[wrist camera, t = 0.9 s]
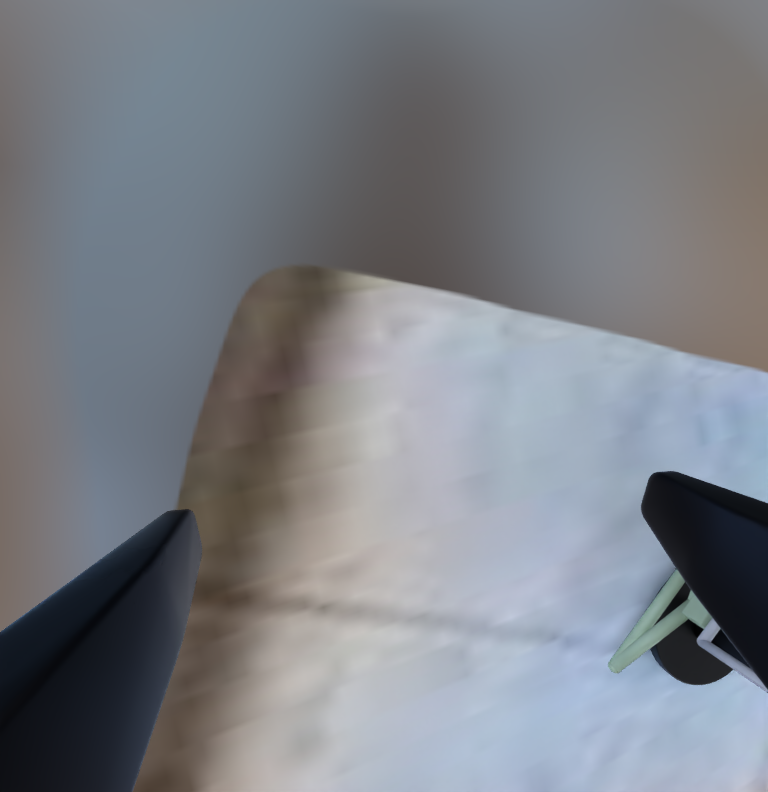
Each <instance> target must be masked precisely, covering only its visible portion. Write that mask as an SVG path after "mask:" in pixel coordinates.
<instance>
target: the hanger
mask: <svg viewBox="0 0 768 792" xmlns="http://www.w3.org/2000/svg"><path fill="white" fill-rule="evenodd" d="M684 583H685V581H684V579H683V578H682V576H681V575H680V573H679V572H678V570H677V569H676V570H675V571H674V573H673V574H672V576H671V577H670V578H669V580H668V581H667V582H666V584H665V585H664V587H663V588H662V589H661V591H660V592H659V593H658V595H657V596H656V598H655V599H654V600H653V602H652V603H651V604H650V606H649V607H648V609H647V610H646V611H645V613H644V614H643V616H642V617H641V618H640V620H639V621H638V622H637V624H636V625H635V627H634V628H633V629H632V631H631V632H630V633H629V635H628V636H627V638H626V639H625V640H624V642H623V643H622V644H621V646H620V647H619V649H618V650H617V651H616V653H615V654H614V655H613V657H612V658H611V660H610V661H609V663H608V667H609V669H610V670H611V671H612V672H613V673H620V672H621V671H622V670H623V669H625V668H626V667H627V666H629V665H630V664H631V663H632V662H634V661H635V660H636V659H638V658H639V657H640V656H641V655H643V654H644V653H645V652H647V651H648V650H649V649H650V648H652V647H653V646H654V645H656V644H657V643H658V642H659V641H661V640H662V639H663V638H665V637H666V636H667V635H668V634H670V633H671V632H672V631H674V630H675V629H676V628H677V627H679V626H680V625H681V624H682V623H684V622H685V621H686V620H688V619H689V620H691V621H692V622H694V623H695V624H697V625H698V626H700V627H701V628H703V629H704V630H703V631H702V633H701V634H700V636H699V637H698V638H697V643H698V645H699V646H700V647H702V648H703V649H705V650H706V651H708V652H709V653H711V654H712V655H713V656H715V657H716V658H718V659H719V660H721V661H722V662H724V663H725V664H727V665H728V666H729V667H731V668H732V669H734V670H735V671H737V672H738V673H740V674H741V675H742V676H744V677H745V678H747V679H748V680H750V681H751V682H753V683H754V684H756V685H757V686H758V687H760V688H761V689H763V690H764V691H766V692H767V693H768V690H767V688H766V687H765V686H764V684H763V683H762V682H761V681H760V679H759V678H758V677H757V675H756V674H755V673H754V671H753V670H752V669H750V668H749V667H747V666H746V665H744V664H743V663H741V662H740V661H738V660H737V659H735V658H734V657H732V656H731V655H729V654H728V653H726V652H725V651H723V650H722V649H720V648H719V647H717V646H716V645H714V644H713V643H711V641H712V640H713V638H714V637H715V635H716V634H717V633H718V631H719V630H720V627H719V626H718V625H717V623H716V622H715V621H714V619H713V618H712V617H711V616H710V614H709V613H708V612H707V610H706V609H705V608H704V606H703V605H702V604H701V603H700V601H699V600H698V599H697V597H696V596H695V595H694V593H693V592H692V591H690V594H689V597H688V599H687V600H686V601H685V602H683V603H682V604H681V605H680V606H678V607H677V608H676V609H675V610H673V611H672V612H671V613H670V614H668V615H667V616H666V617H664V618H663V619H662V620H661V621H659V622H658V623H657V624H656V625H654V624H655V623H656V622H657V620H658V619H659V618H660V616H661V615H662V613H663V612H664V611H665V609H666V608H667V606H668V605H669V604H670V602H671V601H672V599H673V598H674V597H675V595H676V594H677V593H678V591H679V590H680V588H681V587H682V586H683V584H684Z"/></svg>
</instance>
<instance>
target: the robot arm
mask: <svg viewBox="0 0 768 792" xmlns="http://www.w3.org/2000/svg"><path fill="white" fill-rule="evenodd" d="M641 511H642V515H643V517H644V519H645V520H646V522H647V524H648V525H649V527H650V528H651V530H652V531H653V533H654V534H655V536H656V538H657V539H658V541H659V542H660V544H661V545H662V547H663V548H664V550H665V551H666V553H667V555H668V556H669V558H670V559H671V561H672V562H673V564H674V565H675V567H676V569H677V570H678V572H679V573H680V575H681V576H682V578H683V579H684V581H685V582H686V584H687V585H688V587H689V588H690V589H691V591H692V592H693V593H694V595H695V596H696V597H697V599H698V600H699V601H700V603H701V604H702V605H703V606H704V608H705V609H706V610H707V612H708V613H709V614H710V616H711V617H712V618H713V619H714V621H715V622H716V623H717V625H718V626H719V627H720V629H721V630H722V631H723V632H724V634H725V635H726V636H727V638H728V639H729V640H730V642H731V643H732V644H733V645H734V647H735V648H736V649H737V651H738V652H739V653H740V655H741V656H742V657H743V658H744V660H745V661H746V662H747V664H748V665H749V666H750V668H751V669H752V670H753V671H754V673H755V674H756V675H757V677H758V678H759V679H760V681H761V682H762V683H763V684H764V686H765V687H766V688H767V690H768V503H765V502H762V501H759V500H757V499H754V498H751V497H748V496H745V495H742V494H739V493H736V492H733V491H731V490H728V489H725V488H722V487H719V486H716V485H713V484H710V483H707V482H705V481H702V480H699V479H696V478H693V477H690V476H687V475H684V474H682V473H679V472H675V471H666V472H656V473H653V474H652V475H651V476H650V478H649V480H648V483H647V487H646V490H645V493H644V497H643V500H642V504H641ZM201 557H202V544H201V539H200V535H199V531H198V526H197V522H196V518H195V515H194V513H193V511H191V510H189V509H185V510H172V511H167V512H166V513H164V514H163V515H161V516H160V517H158V518H157V519H156V520H154V521H153V522H152V523H150V524H149V525H147V526H146V527H145V528H144V529H142V530H140V531H139V532H138V533H136V534H135V535H134V536H132V537H131V538H129V539H128V540H127V541H125V542H124V543H123V544H121V545H120V546H118V547H117V548H116V549H114V550H113V551H111V552H110V553H109V554H107V555H106V556H105V557H103V558H102V559H100V560H99V561H98V562H97V563H95V564H94V565H92V566H91V567H89V568H88V569H87V570H85V571H84V572H83V573H81V574H80V575H78V576H77V577H76V578H74V579H73V580H71V581H70V582H69V583H67V584H66V585H65V586H63V587H62V588H61V589H59V590H58V591H56V592H55V593H54V594H52V595H51V596H49V597H48V598H47V599H45V600H44V601H42V602H41V603H40V604H38V605H37V606H36V607H34V608H33V609H31V610H30V611H29V612H27V613H26V614H24V615H23V616H22V617H20V618H19V619H18V620H16V621H15V622H13V623H12V624H11V625H9V626H8V627H7V628H5V629H4V630H2V631H1V632H0V792H133V789H134V786H135V783H136V780H137V777H138V774H139V771H140V768H141V765H142V762H143V759H144V756H145V753H146V750H147V747H148V744H149V741H150V738H151V735H152V732H153V729H154V726H155V723H156V720H157V717H158V714H159V711H160V708H161V705H162V702H163V699H164V696H165V694H166V691H167V688H168V685H169V682H170V679H171V676H172V673H173V670H174V667H175V664H176V661H177V658H178V655H179V651H180V648H181V645H182V642H183V638H184V633H185V629H186V625H187V621H188V616H189V612H190V607H191V603H192V598H193V593H194V589H195V584H196V580H197V575H198V571H199V566H200V562H201Z"/></svg>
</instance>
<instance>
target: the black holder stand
mask: <svg viewBox="0 0 768 792" xmlns="http://www.w3.org/2000/svg"><path fill="white" fill-rule="evenodd" d="M665 584H666V583H665ZM663 587H664V586H663ZM663 587H662V588H663ZM662 588H661V589H662ZM660 591H661V590H660ZM660 591H659V592H660ZM690 591H691V589H690V588H689V587H688V585H687V584H686V582H685V583H684V584H683V586H682V587H681V588H680V590H679V591H678V593H677V594H676V595H675V597H674V598H673V599H672V601H671V602H670V604H669V605H668V606H667V608H666V609H665V611H664V612H663V613H662V615H661V616H660V618H659V619H658V620H657V622H656V623H655V624H654V625H656V624H657V623H658V622H659V621H661V620H662V619H663V618H664V617H666V616H667V615H668V614H670V613H671V612H672V611H673V610H675V609H676V608H677V607H678V606H680V605H681V604H682V603H683V602H685V601H686V600H687V599H688V597H689V594H690ZM657 595H658V594H657ZM703 630H704V629H703V628H701V627H700V626H698V625H697V624H695V623H694V622H692V621H691V620H689V619H688V620H686V621H685V622H684V623H682V624H681V625H680V626H679V627H677V628H676V629H675V630H674V631H672V632H671V633H670V634H668V635H667V636H666V637H665V638H663V639H662V640H661V641H659V642H658V643H657V644H656V645H654V646H653V647H652V648H651V651H652V654H653V656H654V657H655V659H656V661H657V662H658V663H659V665H660V666H661V667H662V668H663V669H664V670H665V671H666V672H668V673H669V674H670V675H671V676H673V677H674V678H676V679H677V680H679V681H681V682H683V683H687V684H691V685H704V684H709V683H712V682H715V681H717V680H719V679H721V678H723V677H724V676H726V675H727V674H729V673H730V672H731V671H732V670H733V669H732V668H731V667H729V666H728V665H727V664H725V663H724V662H722V661H721V660H719V659H718V658H716V657H715V656H713V655H712V654H711V653H709V652H708V651H706V650H705V649H703V648H702V647H700V646H699V645H698V643H697V638H698V637H699V636H700V634H701V633H702V631H703ZM711 643H713V644H714V645H716V646H717V647H719V648H720V649H722V650H723V651H725V652H726V653H728V654H729V655H731V656H732V657H734V658H735V659H737V660H738V661H740V662H741V663H743V664H744V665H746V666H747V667H749V668H750V666H749V665H748V664H747V662H746V661H745V660H744V658H743V657H742V656H741V655H740V653H739V652H738V651H737V649H736V648H735V647H734V645H733V644H732V643H731V642H730V640H729V639H728V638H727V636H726V635H725V634H724V632H723V631H722V630H721V629H720V630H719V631H718V633H717V634H716V635H715V637H714V638H713V640H712V641H711ZM750 669H751V668H750Z"/></svg>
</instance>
